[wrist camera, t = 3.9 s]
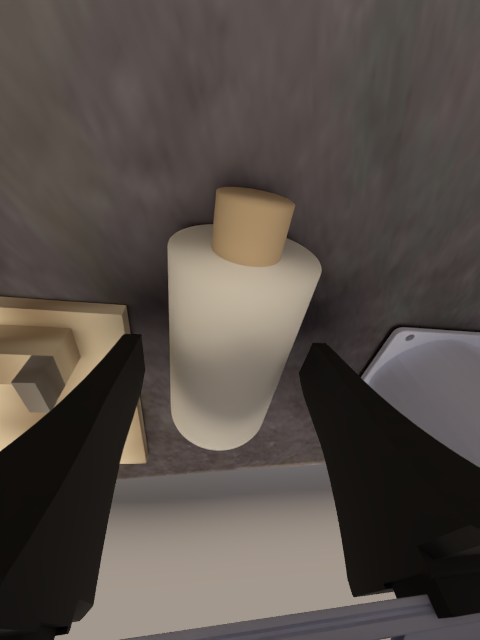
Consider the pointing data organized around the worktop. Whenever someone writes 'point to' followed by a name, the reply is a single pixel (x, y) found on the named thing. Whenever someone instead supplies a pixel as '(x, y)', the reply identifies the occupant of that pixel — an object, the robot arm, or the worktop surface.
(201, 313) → the white cylinder with cap
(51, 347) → the cradle
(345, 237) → the worktop surface
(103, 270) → the worktop surface
